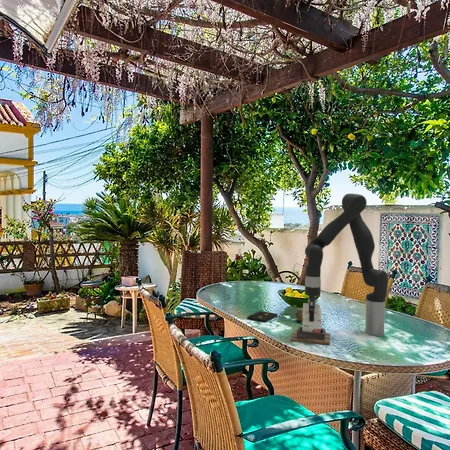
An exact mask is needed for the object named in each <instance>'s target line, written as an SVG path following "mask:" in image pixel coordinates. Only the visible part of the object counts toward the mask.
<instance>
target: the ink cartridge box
mask: <svg viewBox="0 0 450 450" xmlns="http://www.w3.org/2000/svg"><path fill="white" fill-rule="evenodd" d="M302 304H303V305H302V310H303V320H302V322H301V327H302V331H304V332H314V333H321V329H322V309H321V306H320V304H319V303H318V304H317V303H316V308H315V309H314V312H315V313H314V321H313V322H311V321H309V308H308V302H307V303H306V302H303V303H302ZM314 305H315V304H314ZM310 311H313V309H310Z"/></svg>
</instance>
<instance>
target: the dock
mask: <svg viewBox="0 0 450 450" xmlns="http://www.w3.org/2000/svg"><path fill="white" fill-rule="evenodd" d="M290 342H297V343H305V344H312V345H314V344H315V345H322V346H330V345H331V333H328V332H326V329H325V328H321V333H314V332H304V331H302V326H298V328H297V329H294V330H293V332H292V336H291V337H290Z"/></svg>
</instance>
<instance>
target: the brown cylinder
mask: <svg viewBox="0 0 450 450" xmlns="http://www.w3.org/2000/svg"><path fill="white" fill-rule="evenodd" d="M295 318H296V319H297V320H298V321H300V322H301V323H302V320H303V309H298V310H297V311H296V312H295Z"/></svg>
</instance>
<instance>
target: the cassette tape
mask: <svg viewBox="0 0 450 450" xmlns="http://www.w3.org/2000/svg"><path fill="white" fill-rule="evenodd" d="M277 317H278V313H275V312H270V311H269V312H268V311H262V310H260V311H257V312H253V313H252V314H250V315H248V316H246V320H249V321H253V322H258V323H263V324H264V323H268V322H269V321H271V320H273V319H275V318H277Z"/></svg>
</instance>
